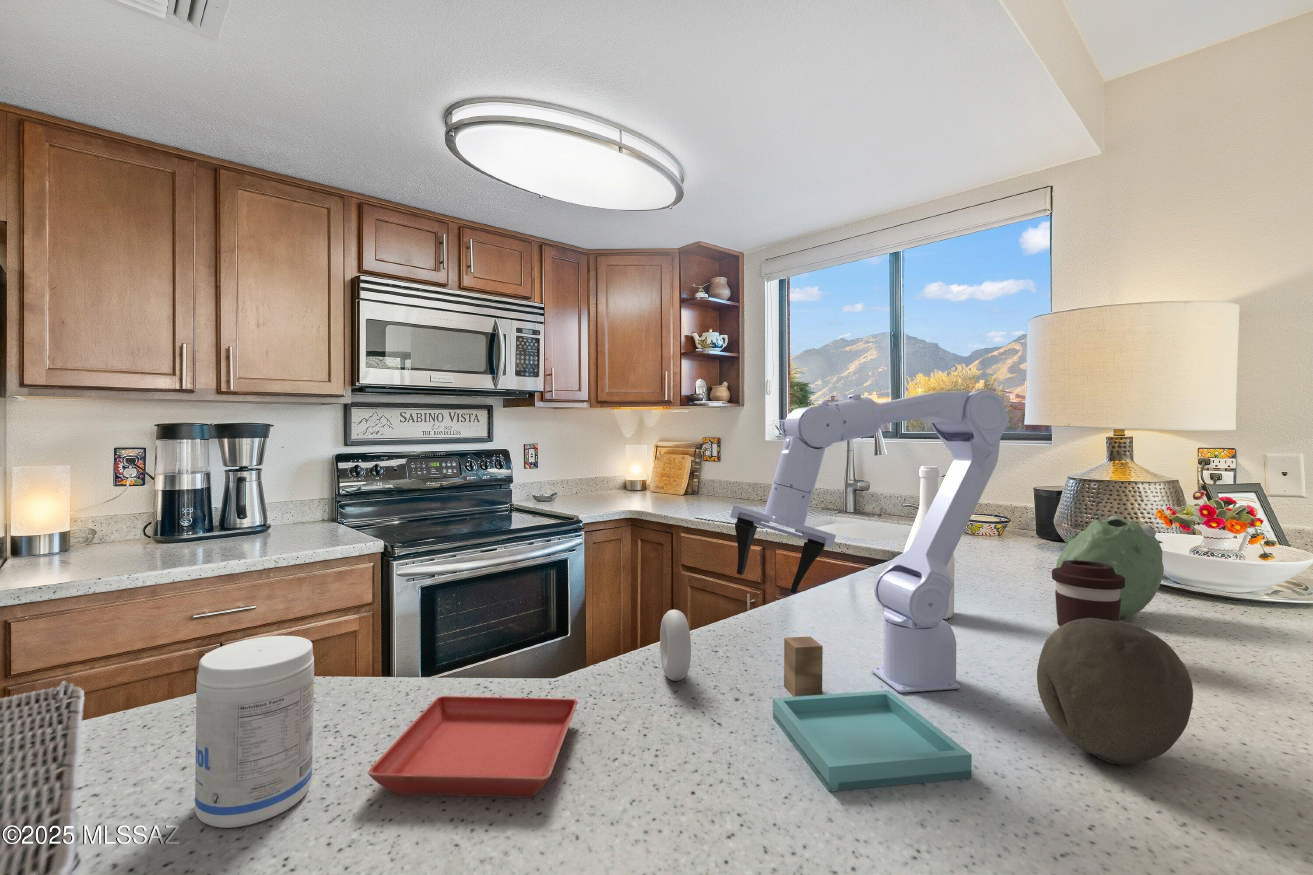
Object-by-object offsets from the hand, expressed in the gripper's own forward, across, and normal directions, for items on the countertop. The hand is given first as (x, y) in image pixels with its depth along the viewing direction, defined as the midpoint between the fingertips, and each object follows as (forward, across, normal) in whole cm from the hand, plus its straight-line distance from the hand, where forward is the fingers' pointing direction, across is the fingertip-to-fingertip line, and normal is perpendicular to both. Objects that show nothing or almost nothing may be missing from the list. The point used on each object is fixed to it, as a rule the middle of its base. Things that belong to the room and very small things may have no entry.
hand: (766, 582), depth 84 cm
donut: (+18, -9, +3) cm, 21 cm away
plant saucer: (+26, -21, -24) cm, 41 cm away
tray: (+13, +16, -8) cm, 23 cm away
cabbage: (-8, +60, +62) cm, 87 cm away
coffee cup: (-1, +49, +36) cm, 61 cm away
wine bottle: (+2, +27, +50) cm, 57 cm away
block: (+13, +8, +5) cm, 16 cm away
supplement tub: (+31, -37, -39) cm, 62 cm away
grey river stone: (+6, +42, 0) cm, 43 cm away
